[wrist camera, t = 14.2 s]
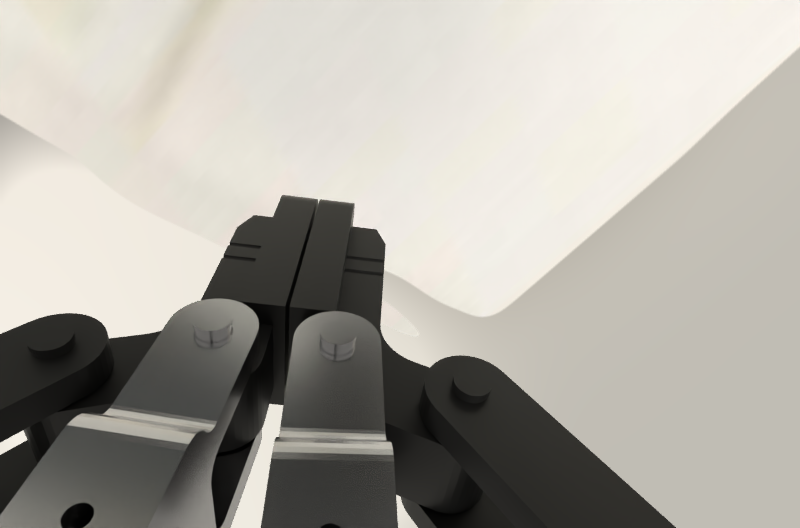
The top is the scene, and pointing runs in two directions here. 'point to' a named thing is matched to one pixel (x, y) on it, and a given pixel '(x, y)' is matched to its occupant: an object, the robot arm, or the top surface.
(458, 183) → the top surface
